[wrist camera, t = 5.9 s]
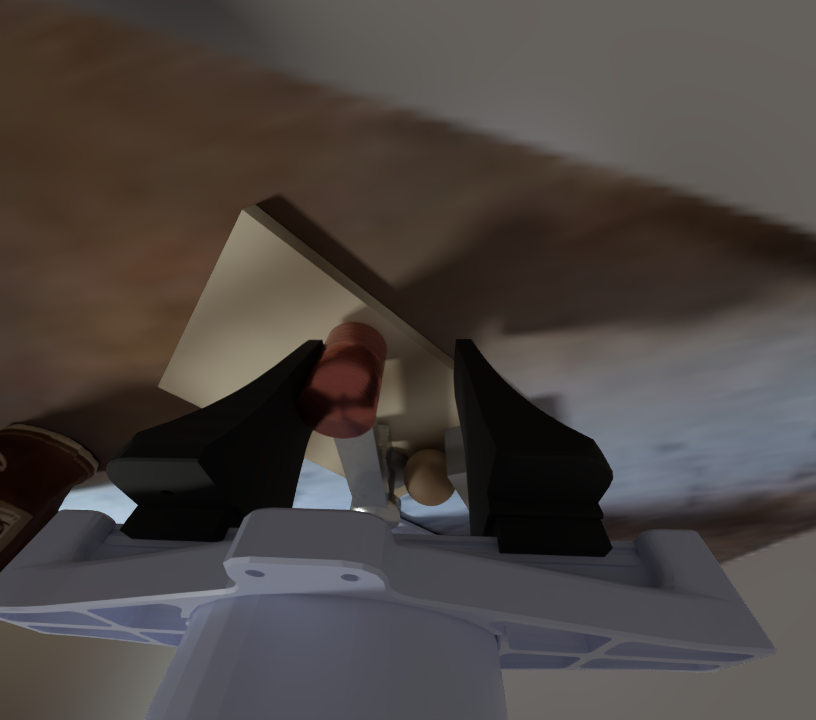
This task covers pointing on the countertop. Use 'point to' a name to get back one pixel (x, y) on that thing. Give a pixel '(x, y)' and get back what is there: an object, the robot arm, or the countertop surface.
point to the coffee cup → (35, 482)
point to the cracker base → (313, 320)
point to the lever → (354, 414)
